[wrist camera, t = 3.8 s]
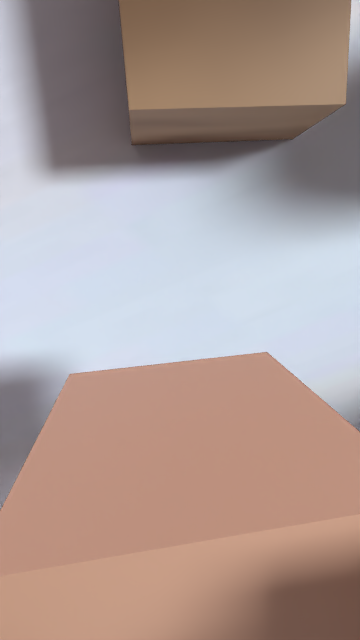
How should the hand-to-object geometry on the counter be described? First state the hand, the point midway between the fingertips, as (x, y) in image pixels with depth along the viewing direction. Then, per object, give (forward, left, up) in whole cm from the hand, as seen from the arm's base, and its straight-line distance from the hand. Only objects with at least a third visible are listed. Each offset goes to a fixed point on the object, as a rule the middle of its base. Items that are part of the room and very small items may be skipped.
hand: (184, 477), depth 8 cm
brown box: (+13, -3, -9) cm, 16 cm away
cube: (0, 0, -1) cm, 1 cm away
